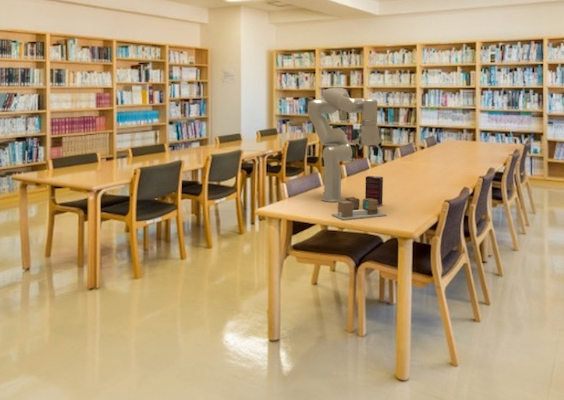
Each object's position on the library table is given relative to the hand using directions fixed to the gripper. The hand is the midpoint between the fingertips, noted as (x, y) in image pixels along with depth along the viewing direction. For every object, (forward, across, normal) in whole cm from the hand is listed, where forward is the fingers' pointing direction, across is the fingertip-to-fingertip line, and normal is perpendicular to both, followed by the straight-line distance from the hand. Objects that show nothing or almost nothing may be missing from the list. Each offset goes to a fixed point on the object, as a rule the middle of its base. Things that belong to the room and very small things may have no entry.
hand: (367, 156), depth 307 cm
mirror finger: (+28, -10, -3) cm, 30 cm away
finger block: (+27, -5, -14) cm, 31 cm away
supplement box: (+29, +9, +6) cm, 31 cm away
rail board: (+28, -12, -14) cm, 34 cm away
